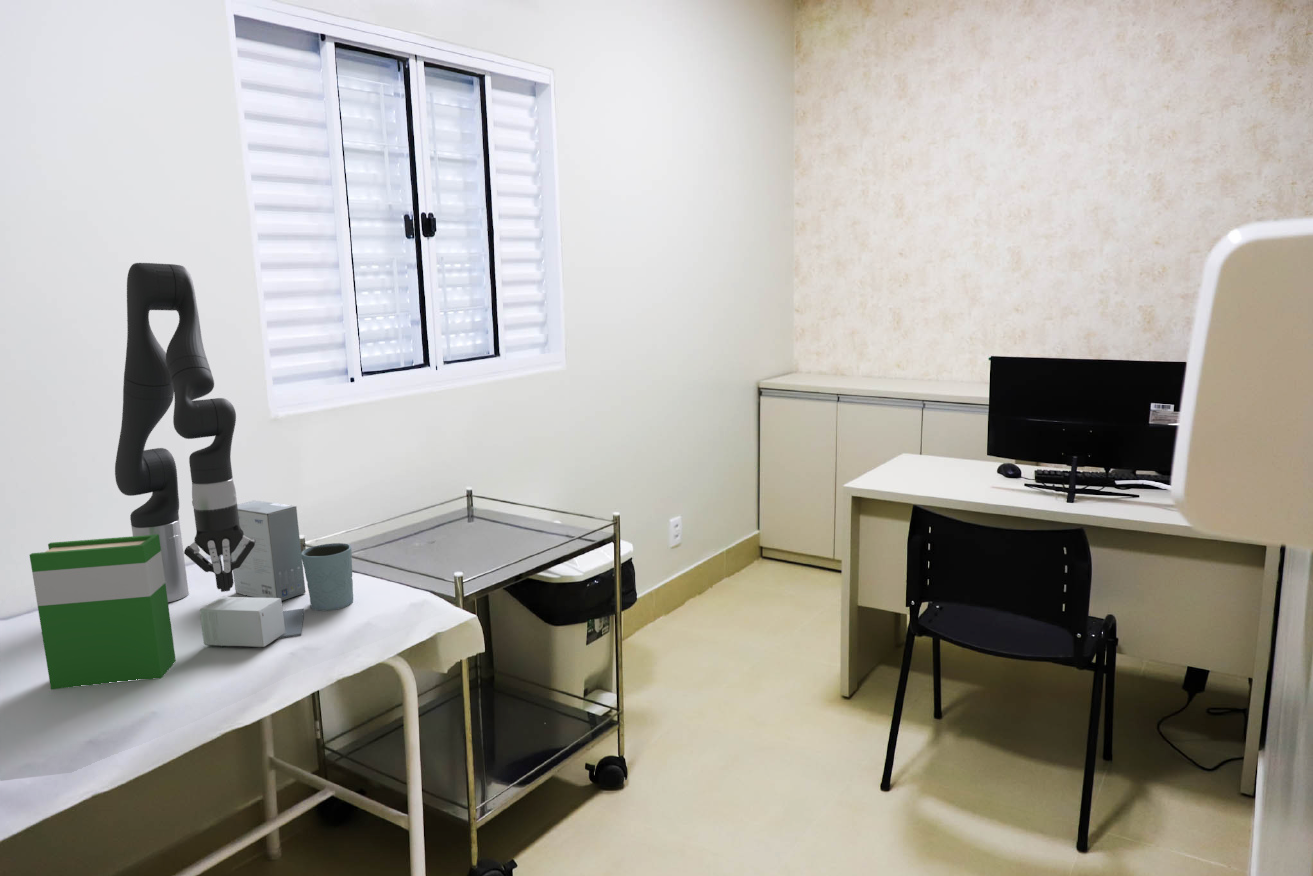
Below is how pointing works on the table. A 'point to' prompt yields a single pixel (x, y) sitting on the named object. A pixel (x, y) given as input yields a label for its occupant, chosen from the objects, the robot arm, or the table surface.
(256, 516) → the hard drive box
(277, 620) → the supplement box
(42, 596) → the hardback book
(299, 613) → the mat
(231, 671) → the table surface
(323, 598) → the blue-grey plant pot
